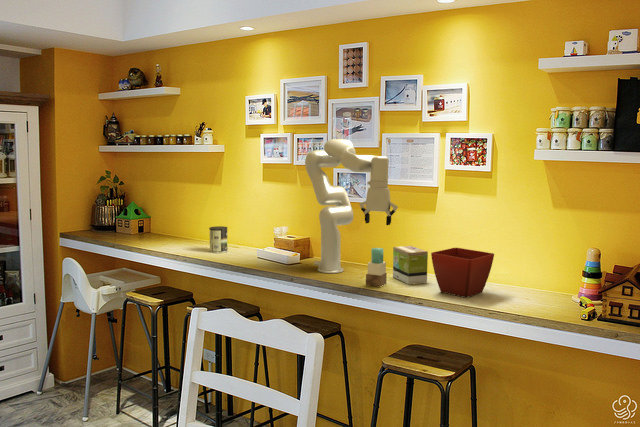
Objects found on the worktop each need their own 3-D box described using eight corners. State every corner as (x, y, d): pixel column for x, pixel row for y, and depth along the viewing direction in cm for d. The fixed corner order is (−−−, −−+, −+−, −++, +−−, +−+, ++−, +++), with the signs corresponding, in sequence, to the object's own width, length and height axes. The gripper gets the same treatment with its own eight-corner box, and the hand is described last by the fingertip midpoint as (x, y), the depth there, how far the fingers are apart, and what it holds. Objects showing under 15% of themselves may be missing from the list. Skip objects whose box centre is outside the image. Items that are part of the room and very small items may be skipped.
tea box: (391, 277, 258) (392, 246, 256) (410, 276, 261) (411, 245, 259) (408, 284, 244) (408, 251, 242) (427, 283, 247) (428, 250, 246)
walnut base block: (365, 285, 242) (366, 274, 242) (371, 282, 248) (371, 271, 248) (380, 287, 239) (381, 275, 238) (386, 283, 245) (386, 272, 245)
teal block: (369, 262, 242) (369, 249, 241) (374, 260, 246) (374, 247, 245) (380, 263, 239) (380, 250, 238) (385, 261, 244) (385, 248, 243)
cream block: (367, 274, 242) (367, 262, 241) (373, 271, 247) (373, 260, 247) (380, 275, 239) (380, 264, 238) (385, 273, 244) (385, 262, 244)
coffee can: (225, 249, 326) (225, 225, 324) (229, 252, 316) (229, 228, 315) (208, 250, 322) (207, 226, 320) (211, 253, 312) (211, 228, 311)
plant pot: (468, 301, 218) (470, 259, 216) (428, 292, 231) (429, 252, 229) (493, 293, 231) (495, 253, 229) (454, 284, 244) (455, 247, 243)
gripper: (357, 184, 239) (356, 223, 241) (395, 186, 232) (393, 226, 234) (363, 183, 246) (362, 221, 248) (400, 185, 238) (399, 224, 240)
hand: (377, 224), depth 241 cm, fingers open, 9 cm apart
